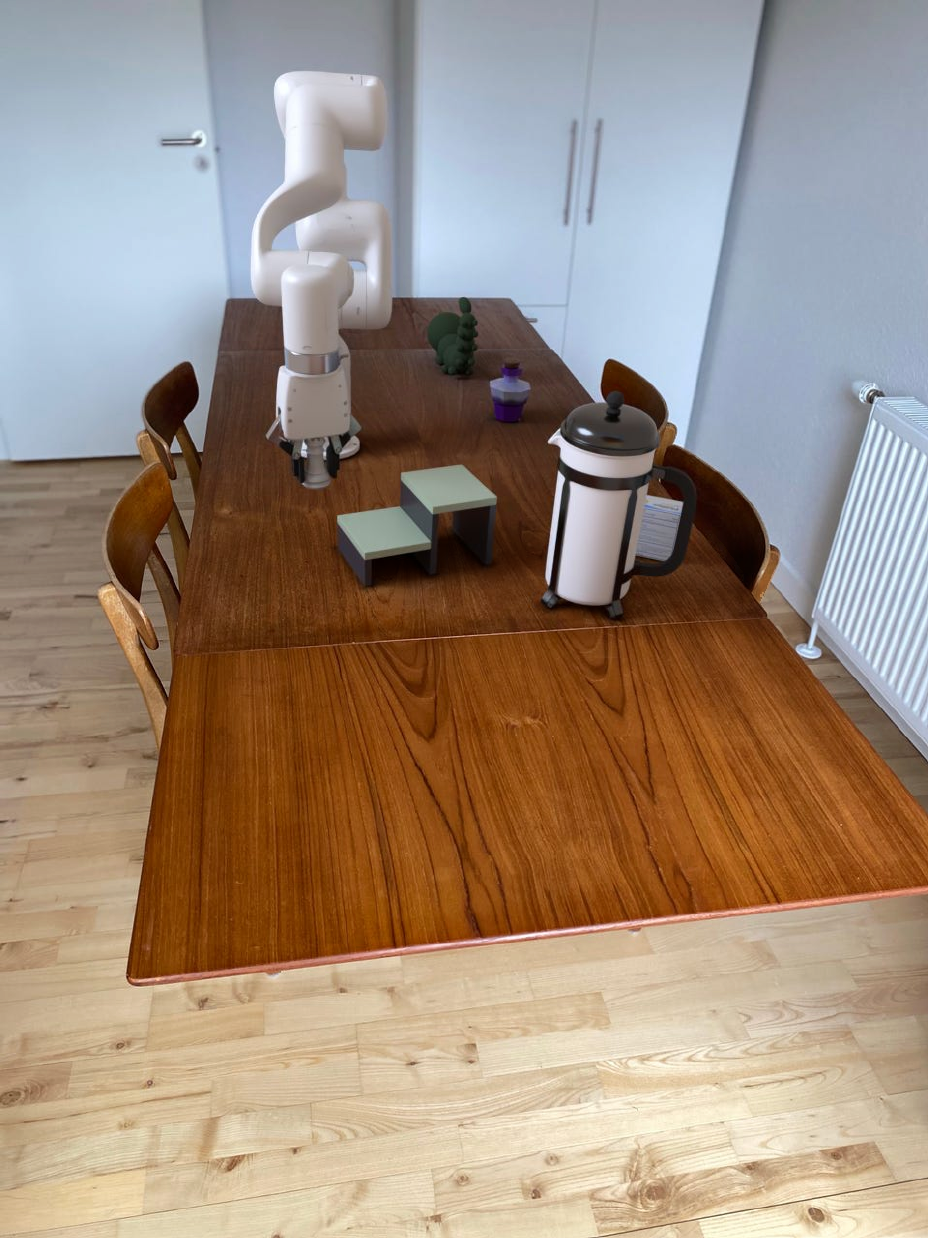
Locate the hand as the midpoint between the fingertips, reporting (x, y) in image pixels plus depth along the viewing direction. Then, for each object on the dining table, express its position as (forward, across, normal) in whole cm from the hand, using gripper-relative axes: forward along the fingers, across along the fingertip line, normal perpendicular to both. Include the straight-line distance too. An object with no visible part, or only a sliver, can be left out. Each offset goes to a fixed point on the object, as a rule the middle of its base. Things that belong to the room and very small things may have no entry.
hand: (315, 475), depth 140 cm
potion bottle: (+10, -51, -33) cm, 61 cm away
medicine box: (+9, -46, +25) cm, 53 cm away
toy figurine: (+11, -53, -65) cm, 84 cm away
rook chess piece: (+2, 0, 0) cm, 2 cm away
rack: (+8, -11, +14) cm, 19 cm away
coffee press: (+8, -31, +33) cm, 46 cm away
